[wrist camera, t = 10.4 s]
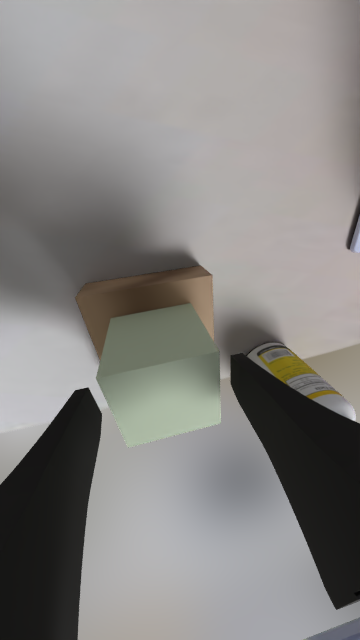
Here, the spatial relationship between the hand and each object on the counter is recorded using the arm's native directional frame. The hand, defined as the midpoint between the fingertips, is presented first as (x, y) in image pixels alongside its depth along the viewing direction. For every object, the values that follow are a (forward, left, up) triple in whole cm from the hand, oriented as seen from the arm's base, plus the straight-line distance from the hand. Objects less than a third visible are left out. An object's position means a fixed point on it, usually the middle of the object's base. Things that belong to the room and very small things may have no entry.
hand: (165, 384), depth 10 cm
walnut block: (0, 0, -7) cm, 7 cm away
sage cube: (0, 0, -4) cm, 4 cm away
